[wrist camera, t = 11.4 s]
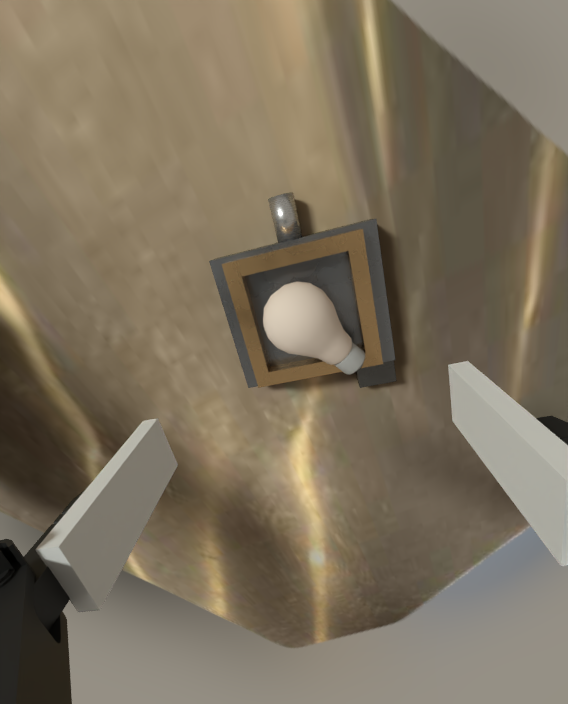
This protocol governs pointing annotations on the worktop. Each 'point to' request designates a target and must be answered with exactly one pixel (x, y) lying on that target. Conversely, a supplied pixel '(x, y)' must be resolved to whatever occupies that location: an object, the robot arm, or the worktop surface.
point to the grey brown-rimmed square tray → (325, 273)
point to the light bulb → (310, 327)
